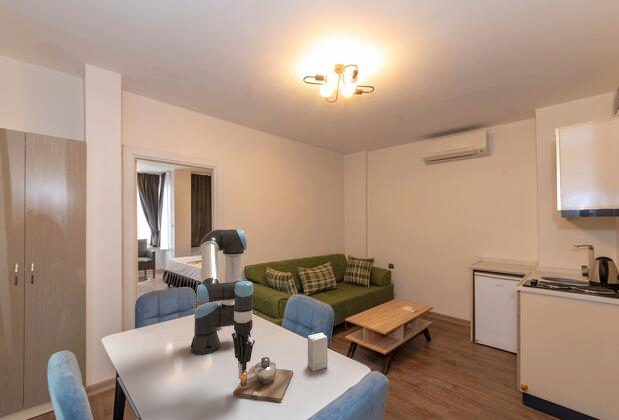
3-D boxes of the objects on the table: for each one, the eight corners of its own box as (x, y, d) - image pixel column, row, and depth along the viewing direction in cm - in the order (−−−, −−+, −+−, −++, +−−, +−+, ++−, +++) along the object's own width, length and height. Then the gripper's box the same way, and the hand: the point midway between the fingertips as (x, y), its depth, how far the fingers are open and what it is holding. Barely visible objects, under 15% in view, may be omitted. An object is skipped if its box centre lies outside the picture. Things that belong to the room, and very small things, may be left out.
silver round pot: (269, 367, 124) (269, 351, 125) (279, 376, 117) (280, 360, 118) (236, 380, 115) (236, 363, 115) (245, 390, 108) (245, 372, 108)
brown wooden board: (231, 396, 110) (232, 388, 110) (251, 369, 130) (251, 362, 130) (280, 402, 106) (281, 394, 106) (293, 373, 126) (293, 366, 126)
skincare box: (322, 362, 137) (322, 331, 137) (328, 368, 131) (328, 336, 132) (306, 365, 133) (307, 334, 133) (312, 372, 128) (312, 339, 128)
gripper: (260, 321, 113) (259, 379, 112) (241, 313, 121) (240, 367, 121) (245, 326, 107) (243, 388, 107) (226, 318, 116) (225, 375, 115)
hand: (242, 377), depth 114 cm, fingers closed
